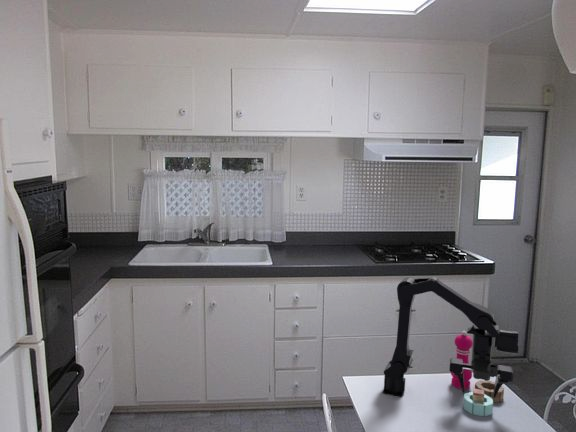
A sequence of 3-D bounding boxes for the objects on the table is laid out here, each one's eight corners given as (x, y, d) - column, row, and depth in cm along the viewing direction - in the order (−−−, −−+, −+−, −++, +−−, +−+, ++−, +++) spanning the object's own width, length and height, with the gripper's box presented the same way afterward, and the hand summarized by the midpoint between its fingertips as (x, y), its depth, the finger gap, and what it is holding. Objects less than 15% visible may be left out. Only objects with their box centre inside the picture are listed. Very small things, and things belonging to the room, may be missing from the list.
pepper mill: (473, 390, 165) (477, 335, 163) (451, 388, 167) (455, 333, 165) (469, 381, 172) (473, 328, 170) (448, 379, 174) (452, 326, 172)
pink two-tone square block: (472, 410, 152) (473, 392, 151) (472, 405, 155) (473, 388, 154) (482, 412, 151) (484, 394, 150) (482, 407, 154) (483, 390, 153)
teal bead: (463, 412, 150) (464, 402, 150) (463, 400, 158) (463, 390, 158) (493, 418, 147) (493, 407, 147) (491, 405, 156) (491, 395, 155)
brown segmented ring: (482, 402, 157) (483, 392, 157) (470, 389, 166) (471, 380, 166) (507, 402, 158) (508, 392, 157) (494, 389, 166) (495, 380, 166)
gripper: (450, 352, 146) (447, 400, 148) (517, 362, 140) (513, 412, 142) (451, 340, 157) (448, 385, 158) (513, 349, 151) (509, 395, 152)
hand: (478, 394), depth 152 cm, fingers open, 9 cm apart
